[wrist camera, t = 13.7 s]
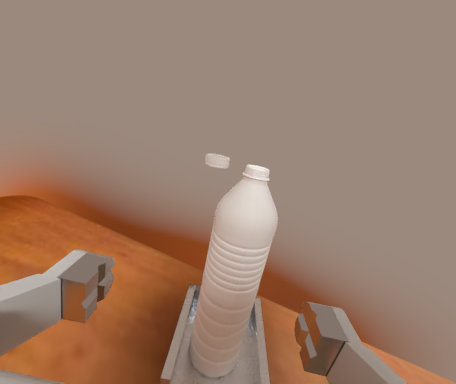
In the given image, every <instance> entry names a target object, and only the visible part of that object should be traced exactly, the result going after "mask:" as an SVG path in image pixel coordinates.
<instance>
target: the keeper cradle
mask: <svg viewBox="0 0 456 384" xmlns="http://www.w3.org/2000/svg"><path fill="white" fill-rule="evenodd" d="M200 288H201V286H197V285H192V284H190V285H189V289H188V292H187V295H186V298H185V301H184V305H183V308H182V311H181V314H180V317H179V321H178V324H177V327H176V330H175V333H174V337H173V340H172V343H171V346H170V349H169V353H168V356H167V359H166V362H165V365H164V368H163V372H162V375H161V378H160V384H270V379H269V370H268V362H267V353H266V344H265V336H264V327H263V319H262V310H261V301H260V298H256V297H255V301H254V305H253V308H252V311H251V315H250V319H249V321H248V323H247V329H246V332H245V335H244V338H243V342H242V345H241V348H240V353H239V356H238V359H237V362H236V365H235V366H234V367H233V369H232V370H231V371H230V372H229V373H228V374H226V375H224V376H219V377H216V378H213V377H208V376H205V375H204V374H203V373H200V372H199V371H198V370H197V369H196V368H195V367H194V366H193V364H192V361H191V359H190V356H189V344H190V338H191V334H192V329H193V324H194V320H195V313H196V309H197V304H198V299H199V294H200Z"/></svg>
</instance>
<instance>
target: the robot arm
mask: <svg viewBox="0 0 456 384" xmlns="http://www.w3.org/2000/svg"><path fill="white" fill-rule="evenodd" d="M113 267H114V259H113V258H111V257H107V256H103V255H99V254H96V253H92V252H87V251H83V250H79V249H77V250H73V251H72V252H71V253H69V254H68V255H67V256H66V257H64V258H63V259H62V260H60V261H59V262H58V263H56V264H55V265H54V266H52V267H51V268H50V269H49V270H47V271H46V272H45V273H43V274H42V275H41V274H35V275H32V276H29V277H26V278H23V279H20V280H17V281H13V282H10V283H7V284H4V285H1V286H0V356H2V355H4V354H5V353H7V352H9V351H10V350H12V349H14V348H15V347H17V346H19V345H20V344H22V343H24V342H25V341H27V340H29V339H31V338H32V337H34V336H36V335H37V334H39V333H41V332H42V331H44V330H46V329H47V328H49V327H51V326H52V325H54V324H56V323H58V322H59V321H61V319H65V320H70V321H76V322H81V323H86V321H87V320H88V319H89V317H90V316H91V315H92V314H93V312H94V311H95V310H96V308H97V302H99V301H101V300H103V299H104V298H105V297H106V295H107V294H108V292H109V290H110V288H111V286H112V283H113V277H114V275H113V273H112V272H111V270H112V268H113ZM301 309H302V312H303V313H302V314H300V315H299V316H298V317H297V319H296V322H295V337H296V341H297V343H298V344H299V345H300V346H301V351H300V356H301V360H302V364H303V368H304V371H306V372H310V373H314V374H318V375H322V376H326V378H327V380H328V381H329V383H330V384H408V383H407V382H405V381H404V380H403V379H402V378H401V377H400V376H399V375H398V374H397V373H396V372H394V371H393V370H392V369H391V368H390V367H389V366H388V365H387V364H386V363H385V362H383V361H382V360H381V359H380V358H379V357H378V356H377V355H376V354H375V353H374V352H372V351H371V350H370V349H369V348H368V347H366V346H363V344H362V343H361V341H360V339H359V337H358V335H357V334H356V332H355V330H354V328H353V327H352V325H351V323H350V321H349V319H348V318H347V316H346V314H345V312H344V311H343V310H342V309H341V308H336V307H331V306H325V305H321V304H316V303H312V302H307V301H305V302H304V303H303V305H302V307H301ZM0 384H66V383H62V382H57V381H52V380H48V379H43V378H38V377H33V376H29V375H24V374H19V373H14V372H10V371H5V370H0Z"/></svg>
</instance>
